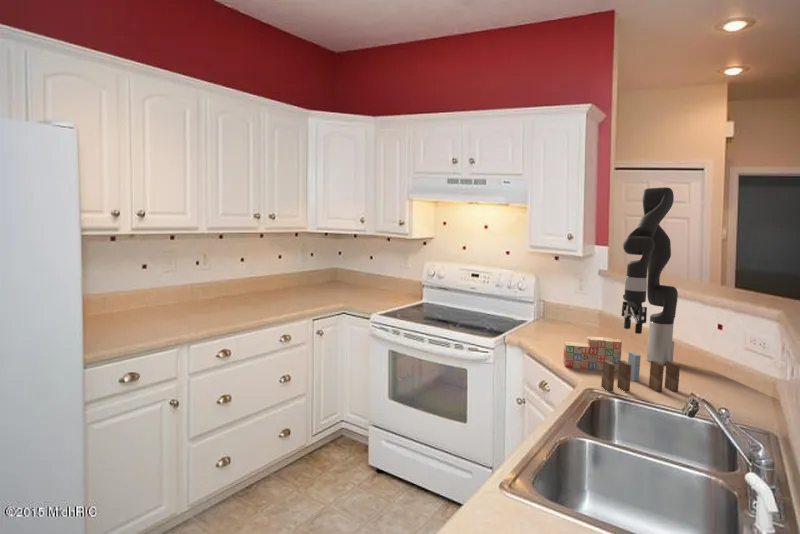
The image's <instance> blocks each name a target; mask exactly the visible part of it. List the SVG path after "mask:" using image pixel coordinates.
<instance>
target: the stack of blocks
mask: <svg viewBox="0 0 800 534" xmlns="http://www.w3.org/2000/svg"><path fill="white" fill-rule="evenodd" d="M622 343H623V342H622V341H621V339H619V338H611V337H599V336H587V339H586V343H584V342H583V343H582V342H570V341H565V342H564V347H563V348H564V349H563V360H562V361H563V366H564V367H566V368H573V369H574V368H575V369H583V370H584V369H586V370H597V371H598V370H599V371H602V369H603V360H609V361H610V362H612V363H614V364H615V372H618V369H619V360H621V359H622V358H621V357H622Z"/></svg>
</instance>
